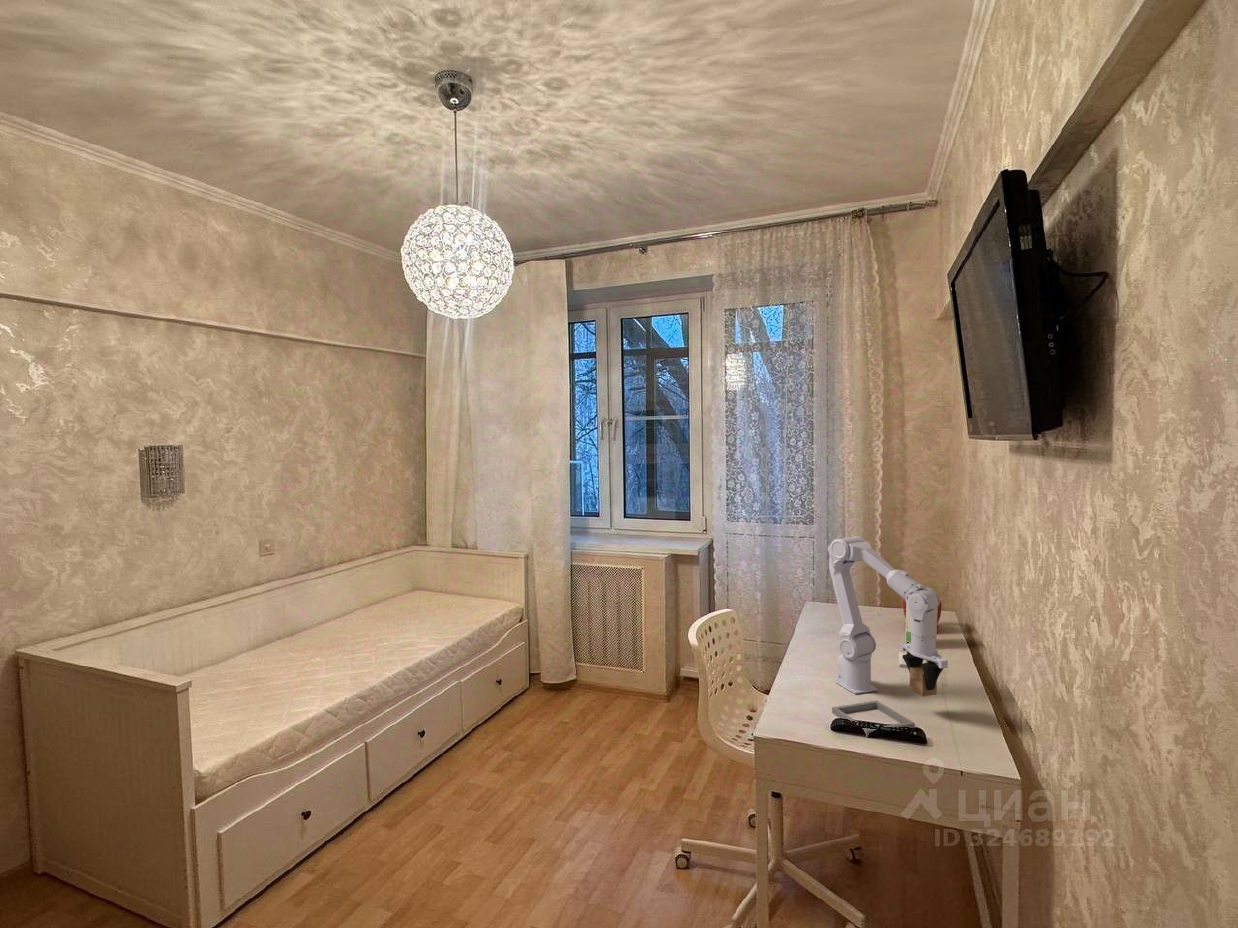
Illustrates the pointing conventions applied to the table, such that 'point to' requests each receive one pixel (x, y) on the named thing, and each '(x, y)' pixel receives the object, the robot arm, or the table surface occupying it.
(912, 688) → the walnut block
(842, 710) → the tray frame
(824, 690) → the table surface
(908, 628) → the skincare box
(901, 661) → the hard drive
